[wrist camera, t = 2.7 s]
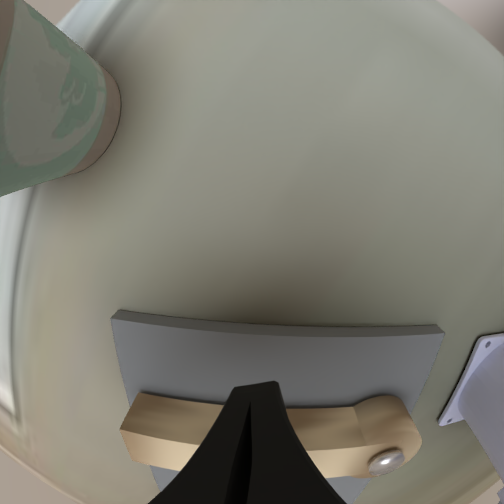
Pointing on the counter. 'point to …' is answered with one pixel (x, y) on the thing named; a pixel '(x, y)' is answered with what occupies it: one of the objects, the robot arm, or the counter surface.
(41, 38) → the coffee cup
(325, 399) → the board
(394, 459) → the pintle
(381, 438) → the link
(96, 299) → the counter surface
